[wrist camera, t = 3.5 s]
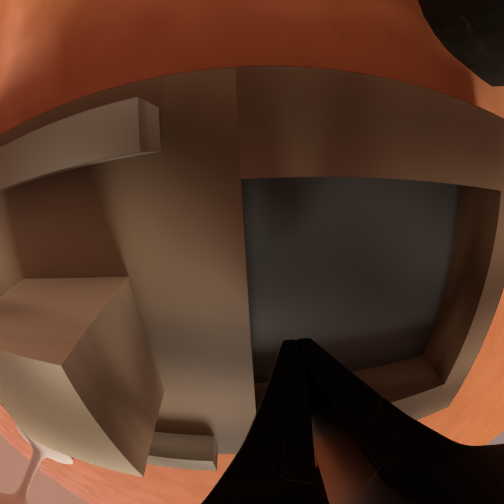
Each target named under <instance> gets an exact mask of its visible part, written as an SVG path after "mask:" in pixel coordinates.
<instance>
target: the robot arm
mask: <svg viewBox="0 0 504 504" xmlns="http://www.w3.org/2000/svg"><path fill="white" fill-rule="evenodd" d="M382 398H383V397H382V396H381V395H380V394H379V393H378V392H376V391H375V390H374V389H373V388H371V387H370V386H369V385H368V384H366V383H365V382H364V381H363V380H361V379H360V378H359V377H358V376H356V375H355V374H354V373H353V372H351V371H350V370H349V369H348V368H346V367H345V366H344V365H343V364H341V363H340V362H339V361H338V360H337V359H335V358H334V357H333V356H332V355H330V354H329V353H328V352H327V351H326V350H324V349H323V348H322V347H321V346H320V345H318V344H317V343H316V342H315V341H314V340H312V339H311V338H300V339H297V340H296V339H289V340H283V342H282V344H281V347H280V350H279V353H278V356H277V359H276V362H275V364H274V367H273V370H272V373H271V376H270V378H269V381H268V384H267V386H266V389H265V392H264V394H263V397H262V400H261V402H260V405H259V407H258V410H257V412H256V415H255V418H254V420H253V422H252V424H251V427H250V429H249V431H248V434H247V436H246V438H245V440H244V442H243V444H242V446H241V447H240V449H239V451H238V453H237V454H236V456H235V458H234V459H233V461H232V462H231V464H230V465H229V467H228V468H227V470H226V471H225V473H224V474H223V476H222V477H221V478H220V480H219V481H218V483H217V484H216V485H215V487H214V488H213V490H212V491H211V492H210V494H209V495H208V496H207V497H206V499H205V500H204V501H203V502H202V503H201V504H504V444H498V445H484V446H468V445H463V444H460V443H457V442H454V441H452V440H450V439H448V438H447V437H445V436H443V435H441V434H439V433H438V432H436V431H434V430H432V429H430V428H429V427H427V426H425V425H423V424H422V423H420V422H418V421H417V420H415V419H413V418H412V417H410V416H409V415H407V414H406V413H404V412H403V411H401V410H400V409H399V408H397V407H396V406H395V405H393V404H392V403H391V402H389V401H388V400H387V399H385V398H383V399H382ZM314 451H315V454H316V458H317V462H318V465H319V469H316V470H315V459H314Z"/></svg>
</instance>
